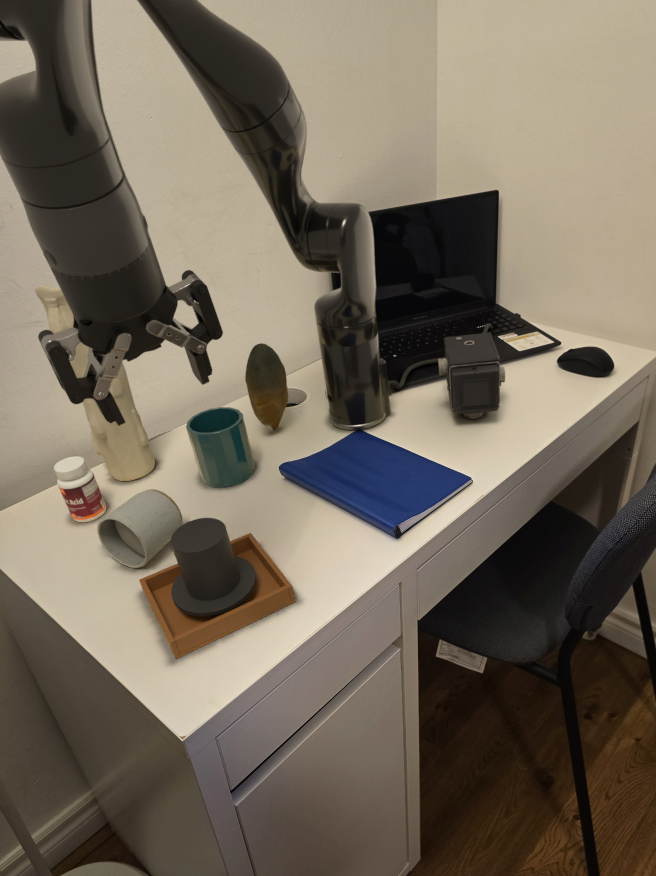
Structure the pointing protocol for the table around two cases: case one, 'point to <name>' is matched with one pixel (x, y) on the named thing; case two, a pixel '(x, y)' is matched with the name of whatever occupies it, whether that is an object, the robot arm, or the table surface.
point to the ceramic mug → (139, 527)
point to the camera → (472, 374)
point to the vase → (115, 443)
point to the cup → (221, 447)
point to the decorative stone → (266, 385)
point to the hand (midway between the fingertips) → (160, 398)
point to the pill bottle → (79, 489)
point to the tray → (202, 630)
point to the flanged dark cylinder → (209, 569)
